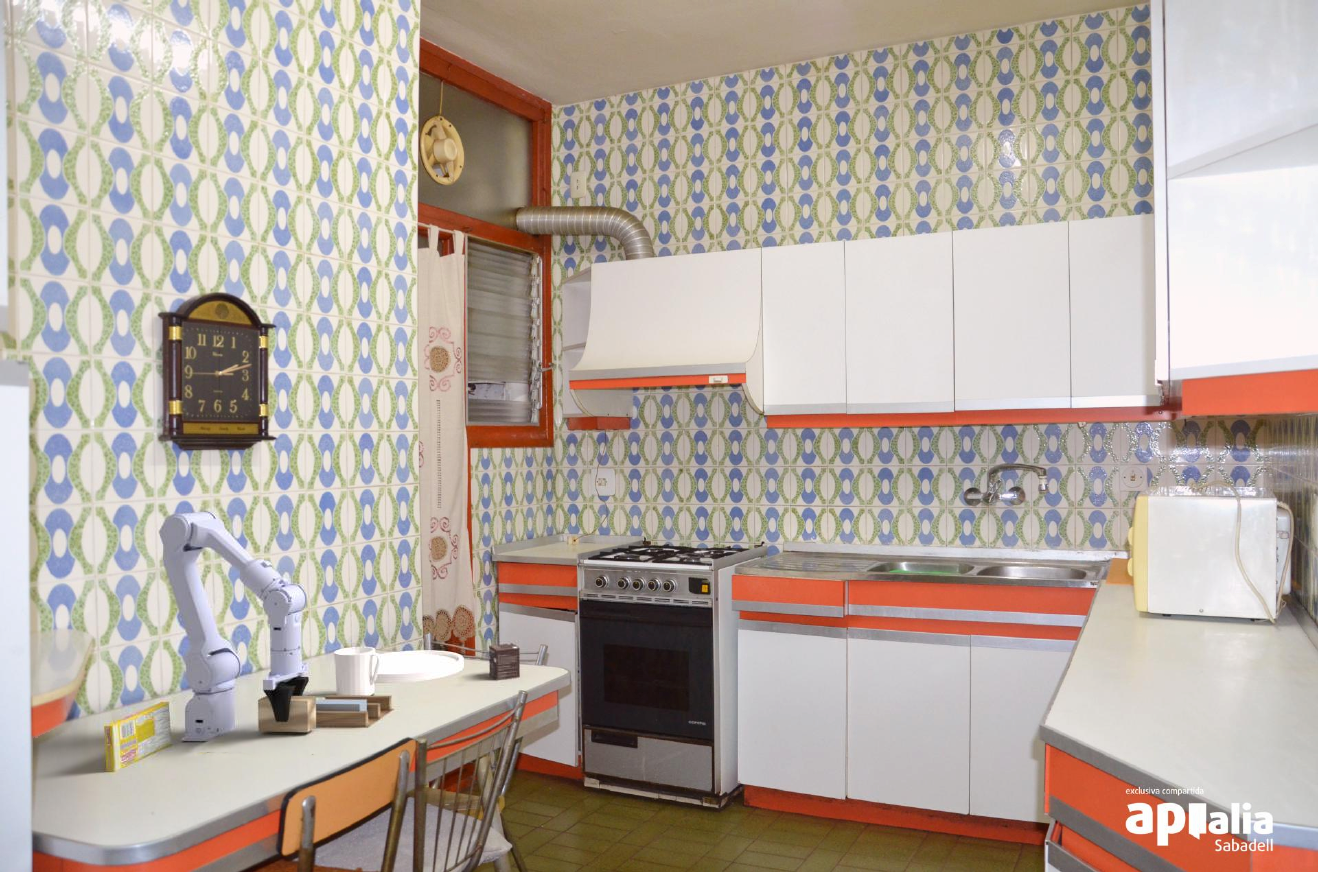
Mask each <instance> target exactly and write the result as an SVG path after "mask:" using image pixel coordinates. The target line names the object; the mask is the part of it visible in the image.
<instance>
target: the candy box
mask: <svg viewBox="0 0 1318 872" xmlns="http://www.w3.org/2000/svg"><path fill="white" fill-rule="evenodd" d="M170 712H171V711H170V701H162V702H159V703H156V704H154V705H152V706H148V707H147V708H145V709H141V710H139V711H137V712H134V713H132V714H130V715H128V716H125V717H123V718H121V719H118V720H116V721H114V722H111V723H109V724H106V725H104V726H103V729H104V747H105V748H104V749H105V752H104V753H105V770H106V772H111V773H112V772H117V771H119V770H122V769H123V768H125V767H128V766H130V765H131V764H133V763H136V762H138V761H140V760H142V759H144V758H146V757H148V756H150V755H152V754H155V753H156V752H158V751H161V750H162V749H165V748H167V747H169V746H171V745H172V734H171V733H172V731H171V717H170V716H171V715H170Z"/></svg>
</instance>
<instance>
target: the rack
mask: <svg viewBox="0 0 1318 872" xmlns="http://www.w3.org/2000/svg"><path fill="white" fill-rule="evenodd" d="M324 699H342V700H367V711H316V728H345V729H346V728H349V729H352V728H353V729H354V728H358V729H359V728H363V729H365V728H366V729H368V728H369V727H371V726H372V725H374V724H375V723H377V722H378V721H380V720H381V719H382V718H384V717H385V716H387V715H388V714H389V713H391V712H392V711H394V710H395V708H393V706H392V705H393V704H392V703H393V702H392V701H393V700H392V695H373V696H371V695H337V694H335V695H334V694H330V695H329V694H328V695H325V696H324Z"/></svg>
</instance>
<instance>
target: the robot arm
mask: <svg viewBox="0 0 1318 872" xmlns="http://www.w3.org/2000/svg"><path fill="white" fill-rule="evenodd" d="M158 534H159V537H160V540H161V544H162V548H163V549H162V563H163V565H164V570H165V572H166V575H167V579H168V581H169V584H170V587H171V591H172V593H173V597H174V599H175V604H176V606H177V608H178V609H177V610H178V612H179V615H180V618H181V621H182V623H183V627H184V629H185V632H186V633H185V634H186V636H187V639H188V642H189V645H190V646H189V648H188V650H187V652H186V653H185V655H184V657H183V660H184V661H183V662H184V664H185V673H184V675H185V676H184V677H185V680H186V683H187V685H188V686H189V687H190V688H191V690H192V693H194V694H193V696H192V697H191V698H190V699H189V700H188V702H187V703H186V705H185V708H184V727H185V728H184V729H185V731H184V733H185V734H184V735H185V736H184V737H181V739H180V741H181V742H208V741H210V740H212V739H214V738H216V737H218V736H220V735H222V734H223V733H226V732H227V733H228V732H230V731H232V730H234V729H236V727H237V725H236V718H235V717H236V716H235V715H236V714H235V713H236V712H235V710H236V709H235V685H237V679H238V678H239V676H241V673H242V670H243V663H242V659H241V658H240V656H239V655H238V654H237V653H236V651H235V650H234V648H233V646H232V643H231V642H230V641H229V640H227V639H225V638H224V637H222V636H221V635H220V633H219V630H218V626H217V623H216V621H215V617H214V615H213V611H212V608H211V605H210V603H209V599H208V597H207V593H206V591H205V587H204V584H203V580H202V578H201V576H200V572H199V569H198V567H197V564H196V561H197V560H198V558H199V556H200V554H201V553H202V552H203V551H204V550H205V549H206V548H209V549H211V550H212V551H214V552H215V553H216V554H217V555H219V556H220V557H221V558H223V559H224V560H225V561H226V562H227V563H229V564H230V565H231V566H232V567H233V568H235V569H236V570H237V571H238V572H239V573H240V574H239V580H240V582H241V583H242V584H243V585H244V586H245V587H246V588H247V589H248V590H249V591H251V593H253V594H254V596H256V597H257V598H258V599H260V601H261V602H262V609H263V611H264V612H265V614H266V616H267V618H268V625H269V641H270V642H269V649H270V650H269V652H270V653H269V655H270V656H269V658H270V660H269V661H270V662H269V664H270V670H269V673H268V674H267V676H266V677H264V679H262V690H263V692H264V694H265V696H267V697H268V699H269V701H270V703H271V706H272V709H273V713H274V716H275V720H276V722H287V721H288V718H289V710H290V701H291V697H292V696H304V692H305V690H306V687H307V685H308V683H309V681H310V678H309V676H305V675H308V673H309V663H308V662H302V661H303V654H302V653H303V652H302V649H303V648H302V645H303V644H302V643H303V642H302V641H303V640H302V611H303V610H304V609H305V607H306V606H307V603H308V596H307V592H306V591H305V589H304V588H303V587H302V586H301V585H300V584H299V583H295V582H292V583H290V582H289V580H288V578H286V577H283V576H281V574H280V573H279V572H277V571H276V570H275V569H274V568H273V567H272V566H273V563H271V562H270V561H269V560H264V559H261V558H257V559H254V558H253V557H252V555H251V554H250V553H249V552H248V551H247V550H246V549H245V548H244V547H243V546H242V545H241V544H240V543H239V542H238V541H237V540H236V538H234V537H233V535H231V533H230V532H229V531H228V530H227V529H226V527H225V522H224V521H223V520H221V519H220V518H218V517H217V515H216V514H215V513H214V512H212V511H210V510H202V511H201V510H200V511H196V512H186V513H173V514H170V515H169V516H167V517H166V518H165V519H164V521H163V524H162V526H161V527H160V529H159V530H158Z"/></svg>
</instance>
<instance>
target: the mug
mask: <svg viewBox="0 0 1318 872" xmlns="http://www.w3.org/2000/svg"><path fill="white" fill-rule="evenodd" d="M379 654H380V653H378V652H376V648H374V647H372V646H353V647H352V646H351V647H345V648H339V649H337V650H335V651H334V652H333V656H334V664H335V665H334V666H335V682H336V686H335V687H336V688H335V689H336V695H371V696H375V695H374V694H375V683H374V682H375V680H376V678H377V675H378V671H379V668H380V665H381V656H380V655H379ZM375 657H376V658H377V663H376V667H375V670H374V659H375Z"/></svg>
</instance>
